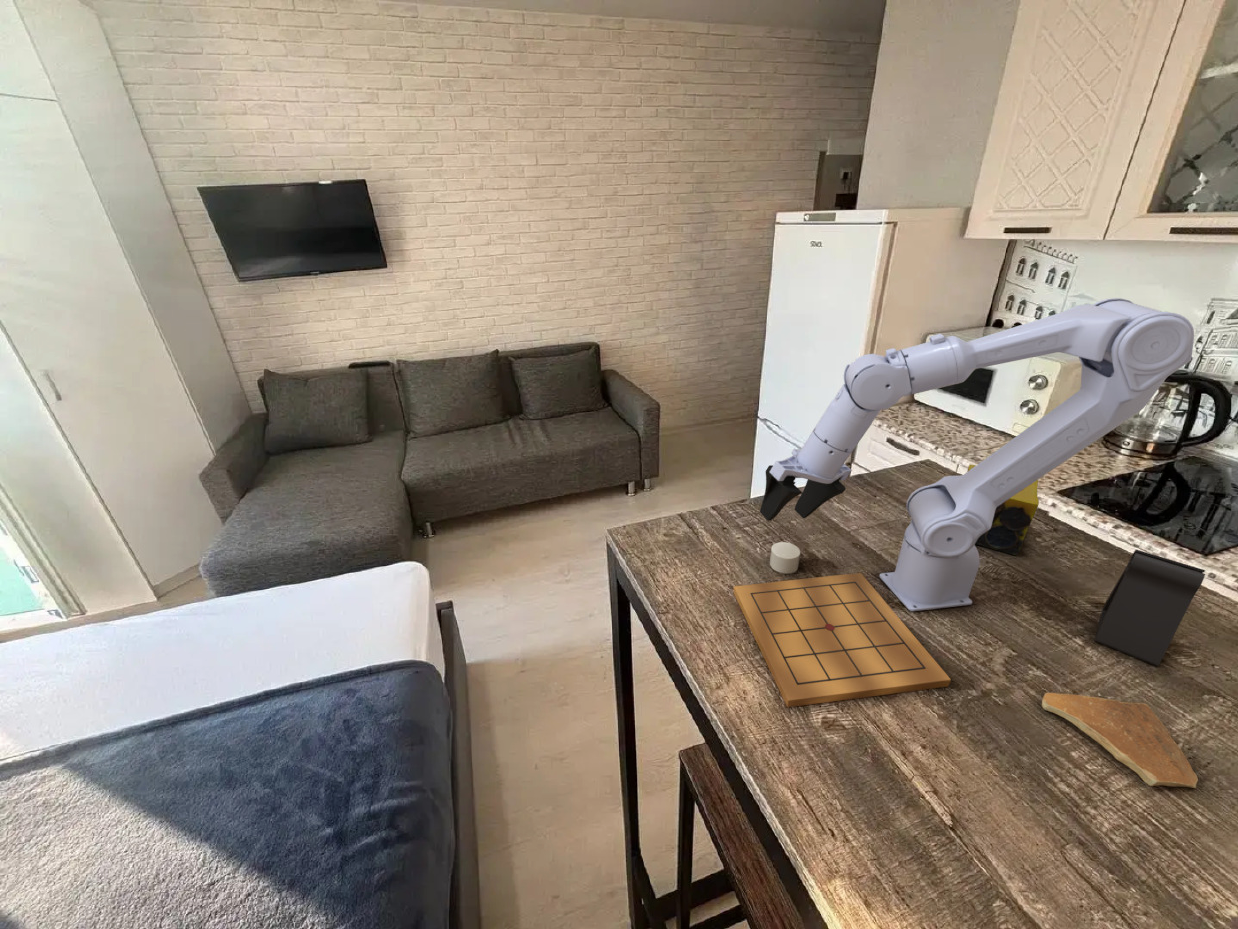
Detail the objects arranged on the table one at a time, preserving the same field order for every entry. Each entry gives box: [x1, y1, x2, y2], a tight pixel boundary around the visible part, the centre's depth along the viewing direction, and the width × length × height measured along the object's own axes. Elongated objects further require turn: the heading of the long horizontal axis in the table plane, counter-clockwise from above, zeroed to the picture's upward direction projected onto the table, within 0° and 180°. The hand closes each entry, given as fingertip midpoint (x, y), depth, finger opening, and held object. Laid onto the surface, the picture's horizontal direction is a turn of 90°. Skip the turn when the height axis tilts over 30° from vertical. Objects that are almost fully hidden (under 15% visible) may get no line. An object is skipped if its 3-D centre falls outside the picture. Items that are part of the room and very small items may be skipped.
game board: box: [733, 572, 952, 708], centre depth 68 cm, size 20×20×1 cm
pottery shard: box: [1041, 692, 1199, 789], centre depth 53 cm, size 10×9×2 cm
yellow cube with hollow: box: [966, 463, 1040, 556], centre depth 86 cm, size 10×10×10 cm
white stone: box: [769, 541, 801, 575], centre depth 81 cm, size 4×4×3 cm
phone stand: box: [1093, 549, 1206, 667], centre depth 64 cm, size 9×6×12 cm, turn 134°
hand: (783, 514), depth 76 cm, fingers open, 7 cm apart
